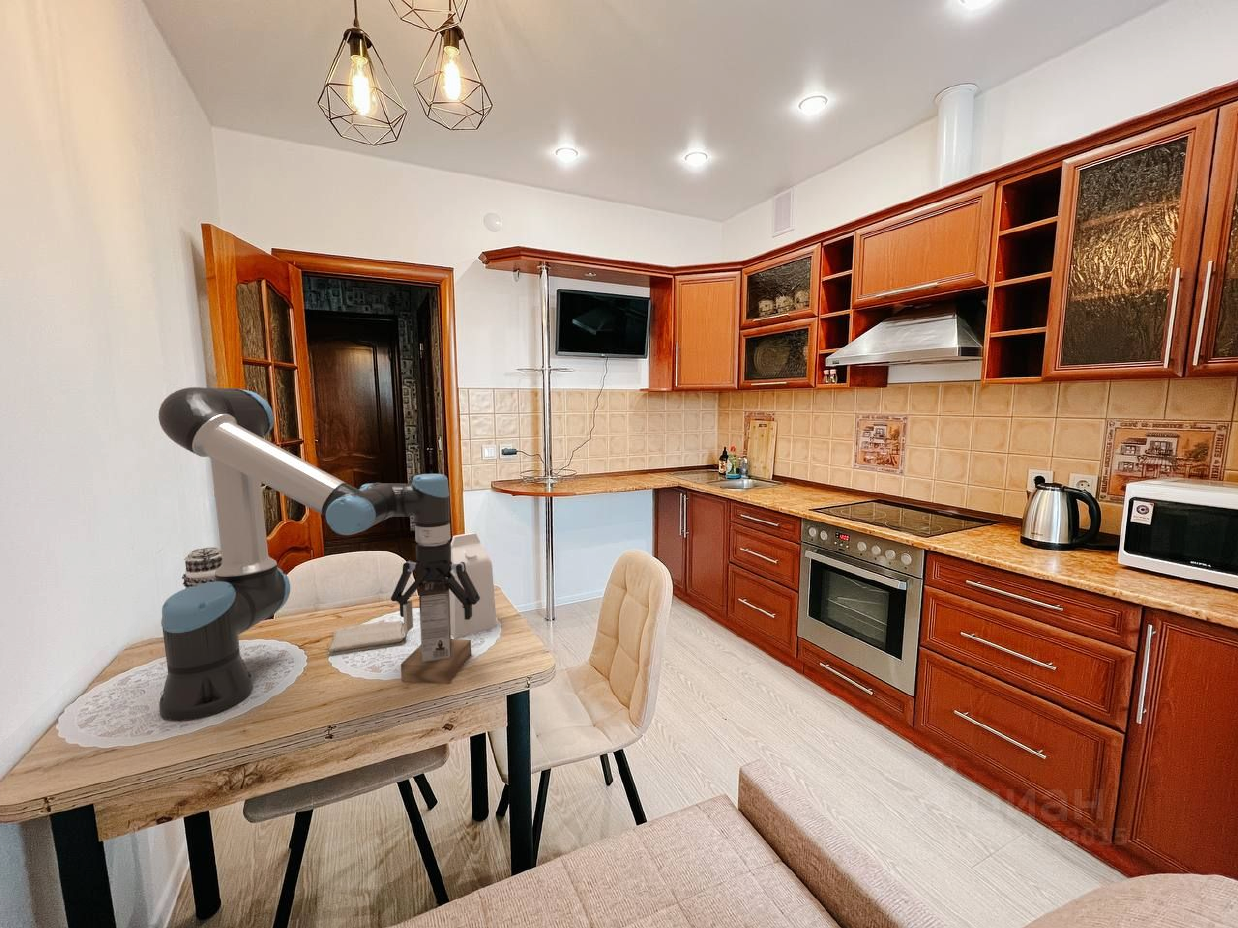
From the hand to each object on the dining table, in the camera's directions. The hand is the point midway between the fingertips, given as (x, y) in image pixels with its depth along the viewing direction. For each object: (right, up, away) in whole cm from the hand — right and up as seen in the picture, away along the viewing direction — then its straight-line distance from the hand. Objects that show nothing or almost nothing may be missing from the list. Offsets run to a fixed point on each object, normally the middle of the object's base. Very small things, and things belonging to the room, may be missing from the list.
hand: (436, 630), depth 118 cm
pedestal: (0, -9, +1) cm, 9 cm away
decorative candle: (-61, -8, +12) cm, 63 cm away
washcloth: (-23, -8, +15) cm, 28 cm away
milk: (0, -7, +24) cm, 25 cm away
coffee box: (0, -5, +1) cm, 5 cm away
